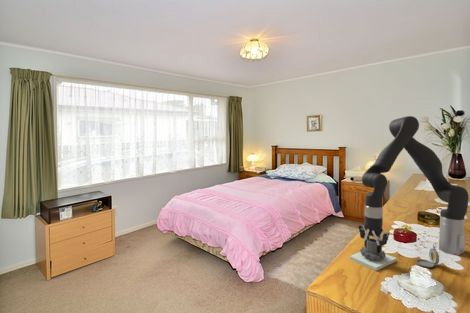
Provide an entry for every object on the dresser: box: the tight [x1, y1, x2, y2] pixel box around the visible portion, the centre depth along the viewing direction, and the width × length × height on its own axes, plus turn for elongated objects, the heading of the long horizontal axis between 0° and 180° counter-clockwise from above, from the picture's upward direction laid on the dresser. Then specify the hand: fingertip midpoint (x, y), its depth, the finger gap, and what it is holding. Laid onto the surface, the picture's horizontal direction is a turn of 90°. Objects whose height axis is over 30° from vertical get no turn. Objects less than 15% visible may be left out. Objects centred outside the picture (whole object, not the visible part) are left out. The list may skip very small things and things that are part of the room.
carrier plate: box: [349, 251, 397, 272], centre depth 122 cm, size 13×16×6 cm
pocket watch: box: [415, 243, 440, 269], centre depth 116 cm, size 8×8×10 cm
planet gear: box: [360, 237, 387, 260], centre depth 122 cm, size 10×10×7 cm
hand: (372, 249), depth 122 cm, fingers closed on planet gear, 5 cm apart
